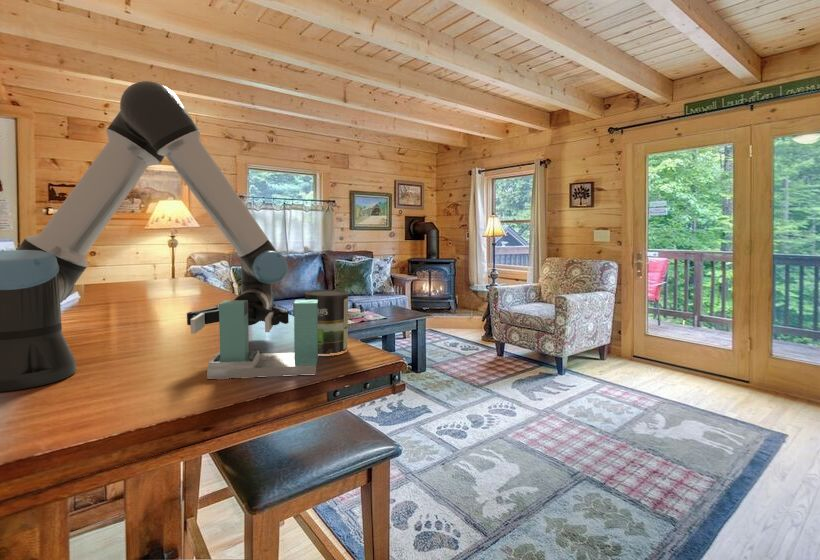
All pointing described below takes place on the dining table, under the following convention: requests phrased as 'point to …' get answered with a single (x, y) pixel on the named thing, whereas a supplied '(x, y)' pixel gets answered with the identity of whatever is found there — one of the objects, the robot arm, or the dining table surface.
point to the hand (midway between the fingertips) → (230, 326)
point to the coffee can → (331, 319)
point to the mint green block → (234, 330)
